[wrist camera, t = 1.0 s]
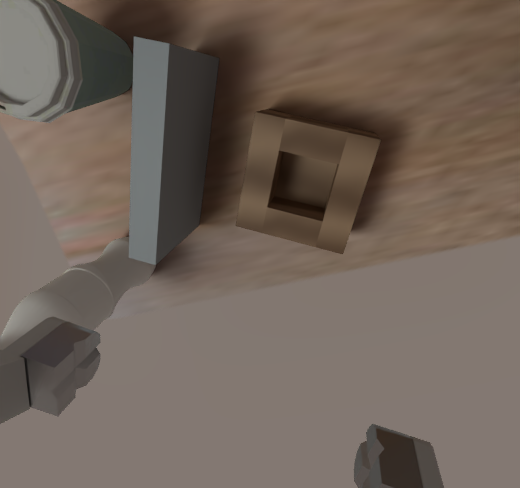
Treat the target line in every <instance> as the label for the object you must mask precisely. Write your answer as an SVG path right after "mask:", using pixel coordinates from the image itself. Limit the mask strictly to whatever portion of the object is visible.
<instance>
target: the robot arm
mask: <svg viewBox="0 0 520 488" xmlns="http://www.w3.org/2000/svg"><path fill="white" fill-rule="evenodd" d="M99 343H100V334H99V333H97V332H95V331H93V330H90V329H87V328H84V327H82V326H79V325H76V324H74V323H71V322H67V321H65V320H62V319H59V318H56V317H49V318H46V319H45V320H43V321H42V322H41V323H39V324H38V325H37V326H35V327H34V328H32V329H31V330H30V331H28V332H27V333H26V334H24V335H23V336H21V337H20V338H19V339H17V340H16V341H15V342H13V343H12V344H10V345H9V346H8V347H6V348H5V349H4V350H0V424H1V423H3V422H5V421H7V420H9V419H10V418H13V417H15V416H16V415H19V414H20V413H23V412H24V411H26V410H28V409H30V407H32V408H35V409H38V410H41V411H44V412H46V413H49V414H53V415H55V416H59V415H60V414H61V412H62V411H63V410H64V409H65V408H66V407H67V406H68V405H69V404H70V402H71V401H72V400H73V399H74V398H75V392H76V389H78V388H81V387H83V386H86V385H87V384H88V382H89V381H90V380H91V379H92V378H93V376H94V374H95V372H96V371H97V369H98V366H99V362H100V353H99V351H98V350H97V348H96V347H97V345H98V344H99ZM366 435H367V441H365V442H363V443H361V444H360V446H359V449H358V451H357V454H356V459H355V466H354V481H355V483H356V485H357V486H358V488H444V486H443V482H442V479H441V475H440V472H439V468H438V464H437V461H436V457H435V453H434V449H433V447H432V445H431V444H430V442H427V441H424V440H420V439H418V438H415V437H411V436H408V435H405V434H403V433H400V432H396V431H393V430H390V429H387V428H384V427H381V426H378V425H375V424H372V425H371V426H370V427H369V429H368V430H367V432H366Z"/></svg>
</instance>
